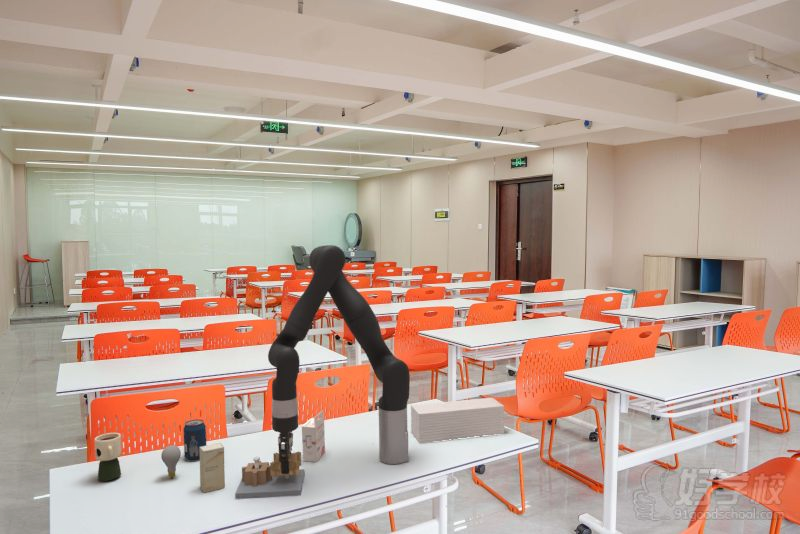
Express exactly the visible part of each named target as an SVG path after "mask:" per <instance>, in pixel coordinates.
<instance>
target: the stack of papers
mask: <svg viewBox="0 0 800 534" xmlns="http://www.w3.org/2000/svg"><path fill="white" fill-rule="evenodd" d="M411 433H412V434H413V435H412V434H411ZM410 434H411V435H412V436H413V437H414V439H415V438H416V439H415V440H416V441H417V443H418V442H419V443H421V444H426V443H425V442H430V443H434V442H433V441H440V442H443V441H442V440H449V439H458V438H467V437H474V436H483V435H494V434H503V435H505V405H504V404H502V403H501V402H499V401H497V400H496V399H495V398H494V397H484V398H483V397H482V398H474V399H472V398H471V399H464V400H463V399H461V400H451V401H439V402H431V403H430V402H429V403H417V404H411V405H410ZM494 436H495V435H494ZM467 439H468V438H467ZM458 440H459V439H458ZM449 441H450V440H449ZM419 443H418V444H419Z"/></svg>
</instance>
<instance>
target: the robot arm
mask: <svg viewBox="0 0 800 534" xmlns="http://www.w3.org/2000/svg"><path fill="white" fill-rule="evenodd" d="M308 257H309V259H308V262H309V266H310V268H311V271H313V272H312V273H313V275H312V277H311V279H310V282H309V284H308V285H307V287H306V288H305V290H304V292H303V293H302V295H300V297H299V298H298V300H297V301H296V302H295V304H294V306H293V308H292V309H291V311H290V313H289V315H288V317H287V320H286V322H285V324H284V326H283V328H282V330H281V331H280V332H279V334H278V335H277V337H276V338H274V339H275V340H274V341H273V342H272V344H271V346H270V347H269V350H268V354H267V359H268V362H269V364H270V365H271V366H273V367H274V368H276V377H275V378H274V379H273V380H272V383H271V395H272V397H271V398H272V399H271V428H272V431H274V432H277V433H278V437H277V442H278V443H277V445H278V453H279V462H281V473H282V474H288V473H289V459H290V458H289V453H292V451H293V448H292V447H293V445H294V441H293V439H294V433H293V431H296V430H297V429H298V428H299V406H298V405H299V403H298V402H299V401H298V398H297V396H298V394H297V392H298V391H297V380H298V377H299V370H300V357H299V355H300V354H299V353H298V351H297V350H296V346H297V344H298V343H299V342H302V341H304V340H305V339H306V337H307V335H308V333H309V331H310V328H311V326H312V324H313V322H314V320H315V318H316V315H317V314H318V312H319V310H320V308H321V305H322V303H323V302H324V300H325V297H326V296H327V294H329V295H330V297H331V299H332V301H333V303H334V306H335V307H336V309H337V310H338V312H339V315H340V316H341V317H342V319H343V321H344V323H345V324H346V327H347V328H348V329H349V331H350V333H351V334H352V335H353V337H354V339H355V340H356V342H357V344H359V346H360V348H361V349H362V350H363V351H364V354H365V355H366V357H367V359H368V362H369V363H370V366H371V367H372V370H373V374H374V375H375V376H376V378H377V379H378V381H380V383H382V396H380V397H379V398H378V443H379V445H378V448H379V449H378V450H379V452H378V453H379V455H378V456H379V457H378V458H379V461H380V462H382V463H384V464H388V465H398V464H399V465H400V464H403V463H405V462H406V463H407V462H410V461H409V459H410V458H409V455H410V453H409V430H408V401H409V398H410V387H411V386H410V382H411V381H410V377H411V376H410V374H411V373H410V370H409V366H408V364H407V363H406V362H405V361H403V360H401V359H399V358H398V357H396V356H395V355H394V354H393V353H392V351H391V350H390V348H389V346H388V345H387V344H386V342H385V339H384V338H383V335H382V331H381V326H380V323H379V320H378V319H377V316H376V314H375V312H374V311H373V309H372V307H371V305H370V304H369V303H368V301H367V299H366V298H365V297H364V296H363V295H362V294H361V293H360V292H359V291H358V290H357V288H355V287H354V286H353V285H352V283H350V281H349V280H348V279H347V277H346V276H345V274H344V271H343V269H344V267H345V265H346V254H345V252H344V251H343V249H341V247H340V246H337V245H331V244H329V245H327V244H326V245H319V246H316V247H314V248H313V250H311V252H310V253H309V256H308ZM282 455H286V457H282Z"/></svg>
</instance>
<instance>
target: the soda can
mask: <svg viewBox="0 0 800 534" xmlns="http://www.w3.org/2000/svg"><path fill="white" fill-rule="evenodd" d="M202 446H207V426H206V424H205V421H204V420H203V419H191V420H188V421H186V422H185V423H184V427H183V453H184V455H183V456H184V458H185V459H186V460H187V461H188V460H189V461H188V462H197V461H196V460H198V461H200V450H199V447H202Z"/></svg>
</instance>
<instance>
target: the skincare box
mask: <svg viewBox="0 0 800 534" xmlns="http://www.w3.org/2000/svg"><path fill="white" fill-rule="evenodd" d="M199 450H200V460H199V482H200V484H199V485H200V489H201V490H202V492H203V493H208V492H213V491H217V490H222V489H225V488H226V481H225V477H226V474H225V446H224V445H223V444H222V443H221V442H218V443H212V444H208V445H207V444H206V446H202V447H199Z"/></svg>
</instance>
